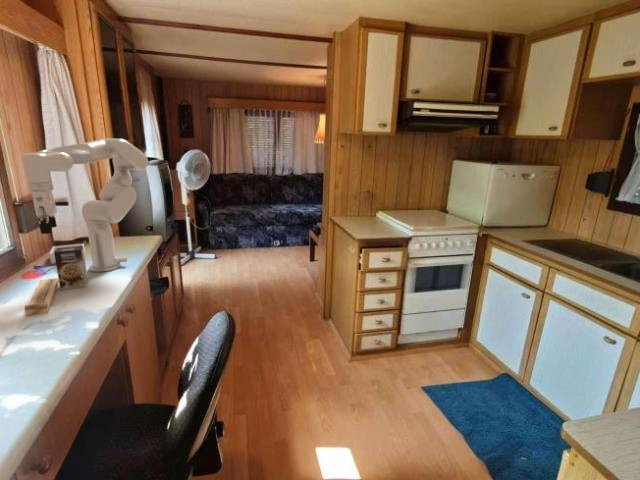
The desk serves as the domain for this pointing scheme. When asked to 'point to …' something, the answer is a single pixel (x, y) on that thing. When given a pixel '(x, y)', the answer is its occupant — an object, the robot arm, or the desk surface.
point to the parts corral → (62, 247)
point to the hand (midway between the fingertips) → (49, 230)
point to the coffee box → (71, 267)
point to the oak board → (42, 297)
